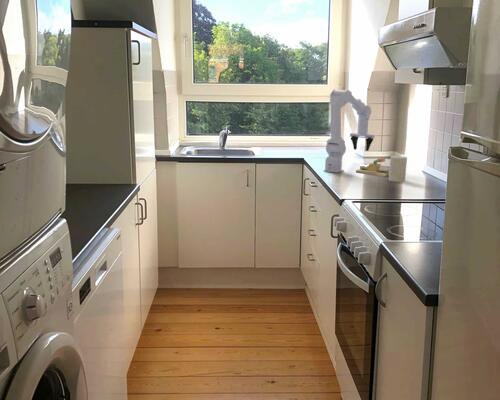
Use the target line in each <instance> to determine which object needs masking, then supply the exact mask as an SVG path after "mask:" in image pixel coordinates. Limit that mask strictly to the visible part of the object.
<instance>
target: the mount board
mask: <svg viewBox="0 0 500 400" xmlns="http://www.w3.org/2000/svg"><path fill="white" fill-rule="evenodd" d="M355 173H359V174H364V175H365V174H366V175H374V176H380V177H389V173H385V172H373V171H367V170H362V169H360V168H359V169H356V170H355Z"/></svg>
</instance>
